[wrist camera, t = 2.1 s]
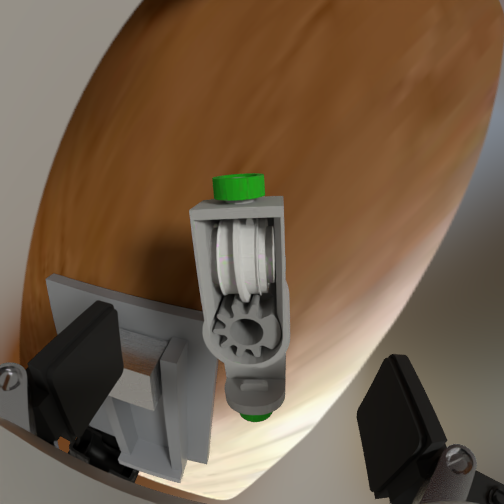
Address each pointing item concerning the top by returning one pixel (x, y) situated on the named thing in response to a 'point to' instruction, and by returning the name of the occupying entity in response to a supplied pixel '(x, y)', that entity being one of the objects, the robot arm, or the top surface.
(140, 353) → the grey matte cube
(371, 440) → the robot arm
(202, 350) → the grey railed base plate
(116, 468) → the end cap
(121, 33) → the top surface
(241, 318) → the mechanical component
